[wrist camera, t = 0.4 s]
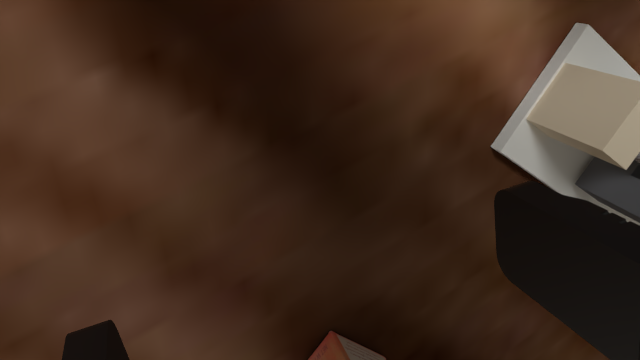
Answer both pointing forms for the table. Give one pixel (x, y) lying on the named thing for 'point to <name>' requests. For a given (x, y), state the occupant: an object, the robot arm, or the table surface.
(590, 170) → the grey sliding block
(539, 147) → the pipe stand
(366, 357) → the cracker box
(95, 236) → the table surface
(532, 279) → the robot arm
